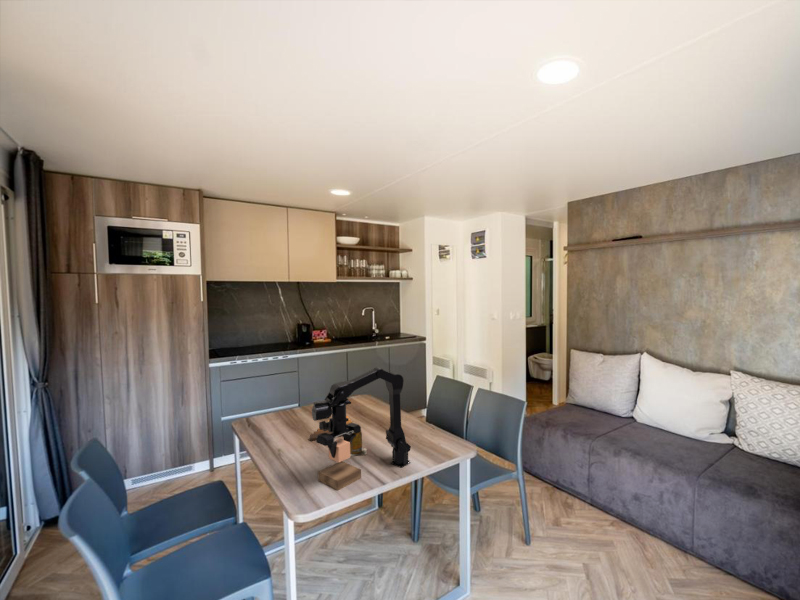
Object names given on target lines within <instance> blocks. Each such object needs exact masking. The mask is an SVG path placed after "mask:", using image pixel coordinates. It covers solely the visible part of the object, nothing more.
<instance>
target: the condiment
mask: <svg viewBox="0 0 800 600" xmlns="http://www.w3.org/2000/svg"><path fill="white" fill-rule="evenodd" d="M353 432H354V430H353ZM354 434H356V433H354ZM362 450H363V451H362ZM367 453H368V451H367V448H365V447H364V448H363V432H362V431H361V432H359V433H357V434H356V436H355V437H354V438H353V440H352V442H351V444H350V457H352V456H353V457H354V456H363V455H367Z"/></svg>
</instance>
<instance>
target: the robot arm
mask: <svg viewBox="0 0 800 600" xmlns="http://www.w3.org/2000/svg"><path fill="white" fill-rule="evenodd" d="M378 379H381V380H384V381H385V386H386V389H387V391H388V394H389V395H388V397H389V421H390V422H389V424H390V425H389V428H388V429H386V430H385V439H386V441H387V443H389V445H390V446H391V447H392V452H391V453H392V454H391V455H392V456H391V457H392V458H391V461H390V464H391V465H395V466H396V465H397V467H399V466H400V467H399V468H403V467H405V466H407V465H408V464H407V463H408V462H409V461H410V460H409V452H410V451H411V448H412V446H411V445H410V444H409V443H407V442H406V441H407V440H406V436H405V432H404V430H403V427H402V409H401V405H402V403H401V393H402V390H403V388H404V377H403V376H402V375H401V374H398V373H396V372H393V371H390V372H389V371H386V370H384V369H383V368H380V367H378V366H377V367H374V368H372V369H371V370H369V371H367V372H364V373H363V374H360V375H358V376H355V378H352V379H350V380H345V381H340V382H336V383H334V384H332V385H331V386H330V387H329V388H330V389H329V392H328V393H327V395H326V396H325V398H324V401H315V402H313V406H312V409H311V416H312V419H313V421H320V422H318V423H319V424H318V427H319V428H320V430H323V431H326V430H329V432H332V434H327V433H323V434H320V435H318V436H317V438H316V442H315V443H317V444H320V445H322V446H327V448H328V451H329V450H330V453H331V455H332V457H333V458H335V454H336V447H337V442H335V441H336V440H335V439H336V438H339V437H338V436H341V435H343V436H341V437H342V438H343V440H345V441H348V442H350V444H351V442H352V440H353V438H354V437H355V436H356V434H357V433H359V432H362V427H361V425H360V424H357V423H354V422H353V423H349V424H347V425H346V422H347V421H348V418H349V417H348V418H346V416H347V405H351V404H352V401H350V400H349V397H350V396H351V395H352V394H353V393H354V392H355V391H357V390H358V389H361V388H363V387H365V386H367V385H368V384H370V383H373V382H375V381H377V380H378ZM325 419H329V421H328V420H327V421H328V422H327V421H326V420H325ZM321 420H324V421H321ZM319 428H318V429H319ZM353 430H354V432H353ZM354 433H356V434H354ZM406 464H407V465H406ZM404 465H405V466H404ZM402 466H403V467H402Z"/></svg>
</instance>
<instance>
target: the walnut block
mask: <svg viewBox="0 0 800 600" xmlns="http://www.w3.org/2000/svg"><path fill="white" fill-rule="evenodd" d="M317 474H318V475H317V477H318V479H317V480H318V481H319V482H320V483H322V484H324V485H326V486H328V487H329V488H332V489H334V490H336V491H340V490H342V489H345V487H347V486H350V485H352V484H353V483H355V482H357V481H359V480H361V479H362V469H361V468H359V467H356V466H354V465H352V464H349V463H348V462H345V461H344V460H343V461H341V462H336V463H334V464H332V465H329V466H328V467H325V468H323V469H321V470H318V471H317Z"/></svg>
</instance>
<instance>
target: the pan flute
mask: <svg viewBox="0 0 800 600" xmlns="http://www.w3.org/2000/svg"><path fill="white" fill-rule="evenodd" d="M346 418H348V421H347V422H346V425H347V424H349V423H354V422H353V421H352V419H350V417H349V416H348V415H346ZM329 420H330V419H329ZM329 420H327V421H326V422H328V421H329ZM323 433H327V434H332V432H329V430H326V431H323V430H320V428H317V430H316V431H313V433H312V434H309V441H310V442H315V441H316V438H317V436H318V435H320V434H323ZM340 437H343V435H341V436H338V437H337V438H340Z"/></svg>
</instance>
